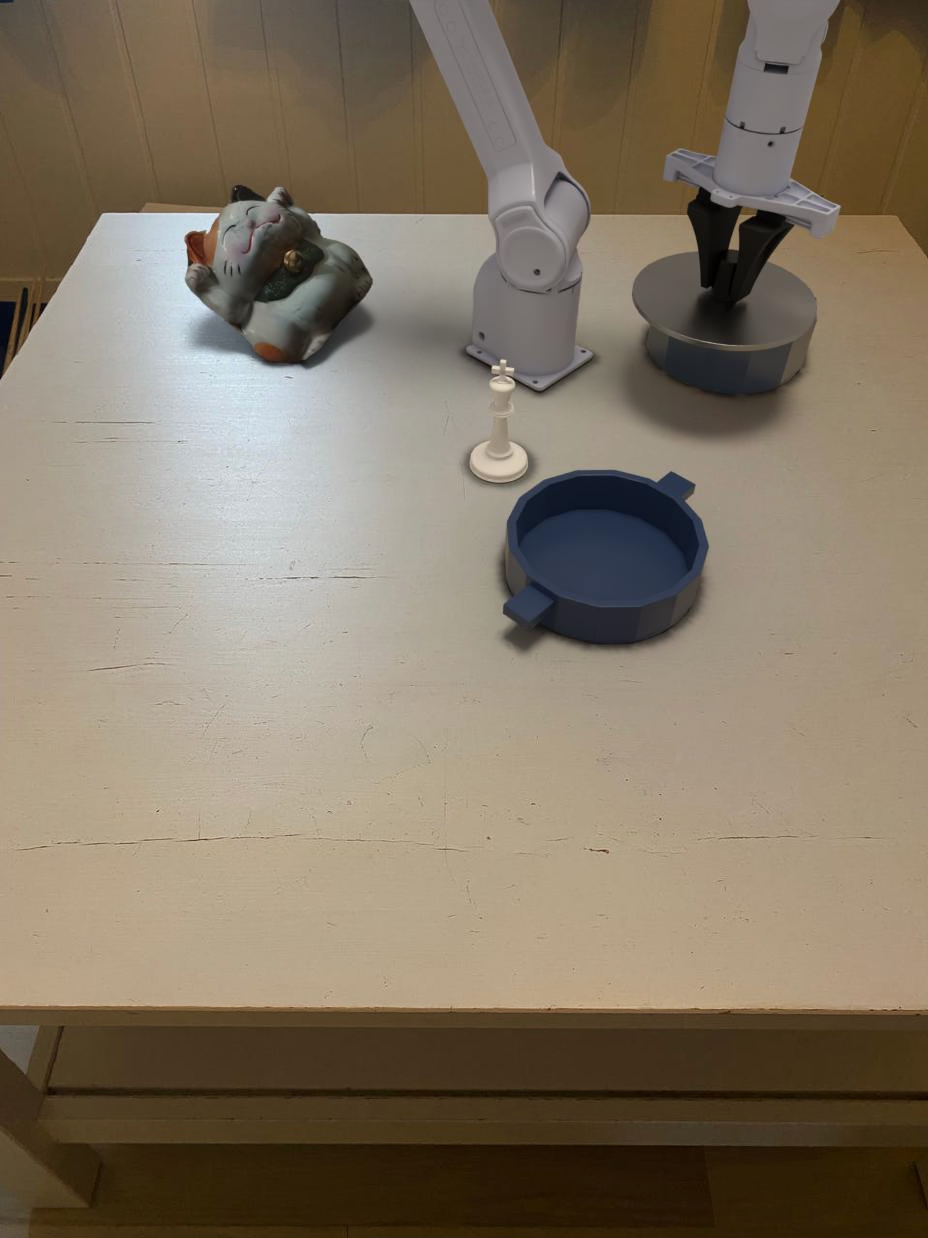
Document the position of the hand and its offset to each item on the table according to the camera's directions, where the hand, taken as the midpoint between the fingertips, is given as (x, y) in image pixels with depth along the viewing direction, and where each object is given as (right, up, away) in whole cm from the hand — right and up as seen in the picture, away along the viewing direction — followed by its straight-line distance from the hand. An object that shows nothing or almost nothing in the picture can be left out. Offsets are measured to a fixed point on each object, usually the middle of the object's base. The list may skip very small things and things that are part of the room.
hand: (724, 289), depth 80 cm
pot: (+3, -2, +12) cm, 12 cm away
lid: (0, -1, +1) cm, 1 cm away
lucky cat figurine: (-39, +1, +14) cm, 42 cm away
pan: (-12, -24, -8) cm, 28 cm away
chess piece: (-19, -15, 0) cm, 24 cm away
